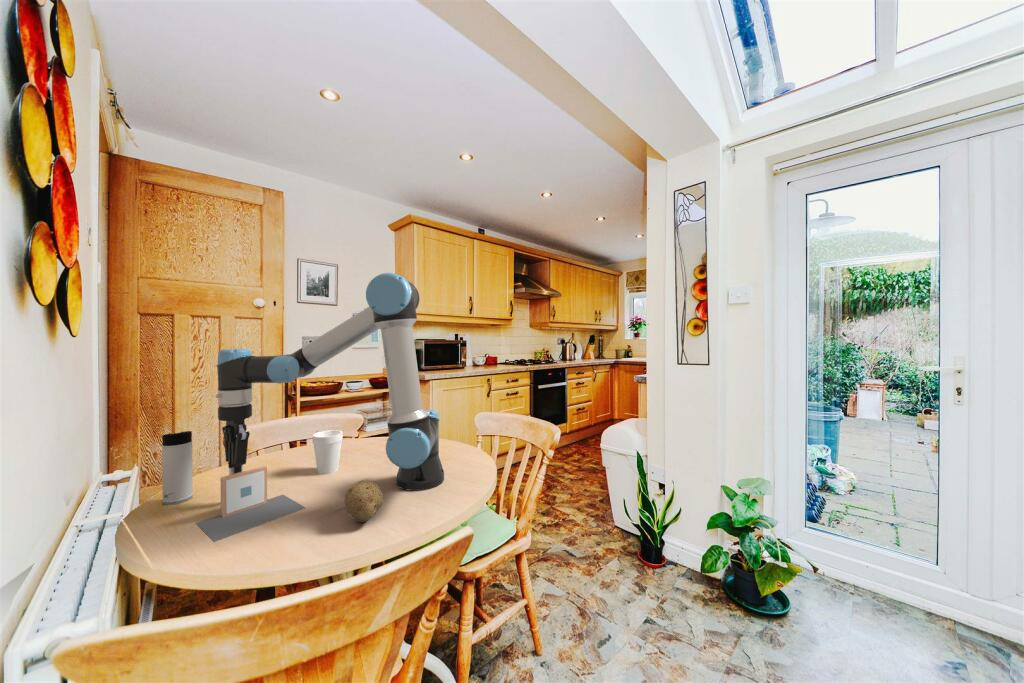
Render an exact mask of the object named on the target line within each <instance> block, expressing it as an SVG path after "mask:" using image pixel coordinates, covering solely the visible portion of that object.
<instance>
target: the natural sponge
mask: <svg viewBox="0 0 1024 683" xmlns="http://www.w3.org/2000/svg"><path fill="white" fill-rule="evenodd" d="M383 495H384V494H383V492H382V491H381V488H380V487H379V485H377V483H375V482H373V481H370V480H360V481H358V482H355V483H354V484H352V486H350V488H349V489H348V490H347V492H346V493H345V497H344V505H345V508H346V510H347V513H348V514H349V516H350V517H351V518H352V519H353V520H355V521H357V522H360V523H364V522H367V521H369V519H371V518H372V517H373V516H374V515H375V513H376V512H377V511H378V509H380V508H381V506H382V504H383V503H384V502H383V501H384V496H383Z"/></svg>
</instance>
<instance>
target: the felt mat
mask: <svg viewBox="0 0 1024 683" xmlns="http://www.w3.org/2000/svg"><path fill="white" fill-rule="evenodd" d="M304 509H306V506H304V505H302V504H300V503H299V502H297V501H295V500H293V499H292V498H290V497H289V496H286V495H285V494H280V495H278V496H274V497H271V498H267V503H265V504H262V505H259V506H256V507H253V508H250V509H247V510H244V511H241V512H238V513H235V514H232V515H229V516H226V517H222V516H221V514H218V515H216V516H212V517H209V518H207V519H203V520H200V521H198V522H194V523H195V525H196V526H197V527H198V528H199V529H200V530H201V531H202V532H203V533H205V535H206V536H208V538H209V539H210V540H211V541H213V542H214V543H215V542H218V541H220V540H223V539H225V538H226V539H227V538H228V537H231V536H234V535H236V534H240V533H243V532H245V531H248V530H250V529H253V528H255V527H258V526H261V525H263V524H267V523H270V522H272V521H274V520H277V519H280V518H283V517H285V516H289V515H291V514H293V513H296V512H299V511H301V510H304Z"/></svg>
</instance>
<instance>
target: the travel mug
mask: <svg viewBox="0 0 1024 683" xmlns="http://www.w3.org/2000/svg"><path fill="white" fill-rule="evenodd" d="M192 435H193V431H192V430H186V431H180V432H175V433H166V434H163V435H161V441H162V443H161V444H162V445H161V458H162V459H161V462H162V463H161V465H162V467H161V471H162V472H161V473H162V474H161V475H162V479H161V480H162V505H163V506H164V507H166V506H173V505H179V504H183V503H185V502H188V501H190V500H192V499H193V496H194V495H193V494H194V493H193V486H194V485H193V481H194V480H193V436H192Z"/></svg>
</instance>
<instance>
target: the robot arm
mask: <svg viewBox="0 0 1024 683" xmlns="http://www.w3.org/2000/svg"><path fill="white" fill-rule="evenodd" d="M365 300H366V302H367V304H368V306H367V307H366V308H365V309H363V310H361V311H360V312H357V313H356V314H354V315H353V316H351V317H350V318H348V319H347V320H345V321H343V322H341V323H340V324H338V325H337V326H335V327H333V328H332V329H330V330H328V331H327V332H325V333H323V334H322V335H320V336H318V337H317V338H316V339H314V340H312V341H311V342H308V343H307V344H306V345H303V346H302V347H301V348H299V349H298V350H295V351H294V352H292V353H291V354H281V355H280V354H279V355H278V354H277V355H258V356H256V355H253V353H252V350H251V349H249V348H226V349H221V350H219V351H218V355H217V364H216V368H217V370H216V371H217V380H218V381H217V384H218V385H217V394H215V398H217V404H218V405H220V406H218V407H217V419H218V420H219V421H221V422H225V425H224V426H222V429H221V430H222V434H223V443H224V445H223V446H224V452H225V453H224V454H225V462H226V463H227V465H228V466H227V467H228V475H232V474H236V473H239V472H243V471H244V469H243V468H244V467H243V466H244V465H247V464H246V463H247V456H248V455H247V454H248V444H249V438H250V431H247V425H246V423H245V420H246V419H249V418H251V417H252V415H253V404H251V403H252V401H253V386H252V385H253V384H255V383H256V384H265V383H266V384H287V383H293V382H294V381H295V380H296V379H298V378H299V379H300V378H305V377H306V376H309V375H310V374H312V373H314V371H315V369H316V368H318V367H319V366H321V365H323V364H324V363H327V361H329V360H331V359H332V358H334V357H336V356H337V355H340V354H341V353H342V352H344V351H345V350H347V349H349V348H350V347H352V346H354V345H355V344H357V343H359V342H361V341H362V340H363V339H365V338H367V337H368V336H370V335H371V334H373V333H375V332H377V331H378V330H380V332H381V341H382V347H383V348H382V349H383V355H384V363H385V370H386V378H387V385H388V386H387V387H388V393H389V400H390V409H391V414H390V416H389V417H388V419H387V421H386V422H387V430H388V438H387V439H386V443H385V453H386V457H387V458H388V460H389V461H390V463H392V464H393V465H395V466H396V467H398V470H397V474H396V476H395V483H396V486H397V487H398V488H400V489H402V490H407V491H421V490H428V489H432V488H435V487H438V486H439V485H441V484H442V483H443V482H444V481H445V470H444V468H443V465H442V462H441V459H440V458H441V457H440V455H439V453H440V449H439V448H440V446H439V444H440V441H439V440H440V439H439V438H440V437H439V436H440V435H439V434H440V432H439V428H440V424H439V423H440V417H439V412H438V411H437V410H436V409H424V408H423V400H422V391H421V385H420V376H419V368H418V361H417V354H416V351H417V350H416V346H415V345H416V344H415V343H416V342H415V339H414V338H415V337H414V336H415V335H414V330H413V326H414V325H415V324H416V322H417V321H418V317H417V309H418V307H419V304H420V293H419V291H418V289H417V287H416V286H415V284H413V283H412V282H410V281H409V280H408V279H407V278H405V277H404V276H403V275H400V274H398V273H392V272H383V273H380V274H377V275H376V276H375V277H373V278H372V279H371V280H370V281H369V282H368V284H367V286H366V290H365Z"/></svg>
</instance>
